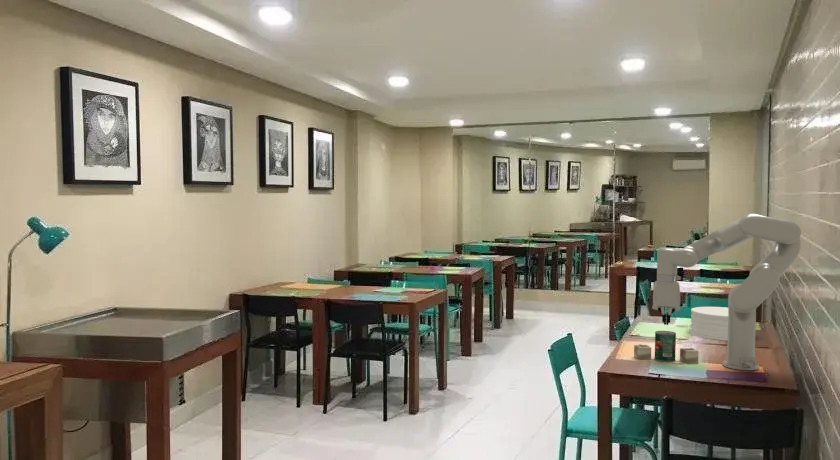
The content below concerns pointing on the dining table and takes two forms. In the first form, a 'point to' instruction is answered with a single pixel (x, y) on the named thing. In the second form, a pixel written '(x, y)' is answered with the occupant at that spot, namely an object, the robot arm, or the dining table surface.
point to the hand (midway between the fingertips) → (666, 324)
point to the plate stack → (710, 322)
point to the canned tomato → (665, 346)
